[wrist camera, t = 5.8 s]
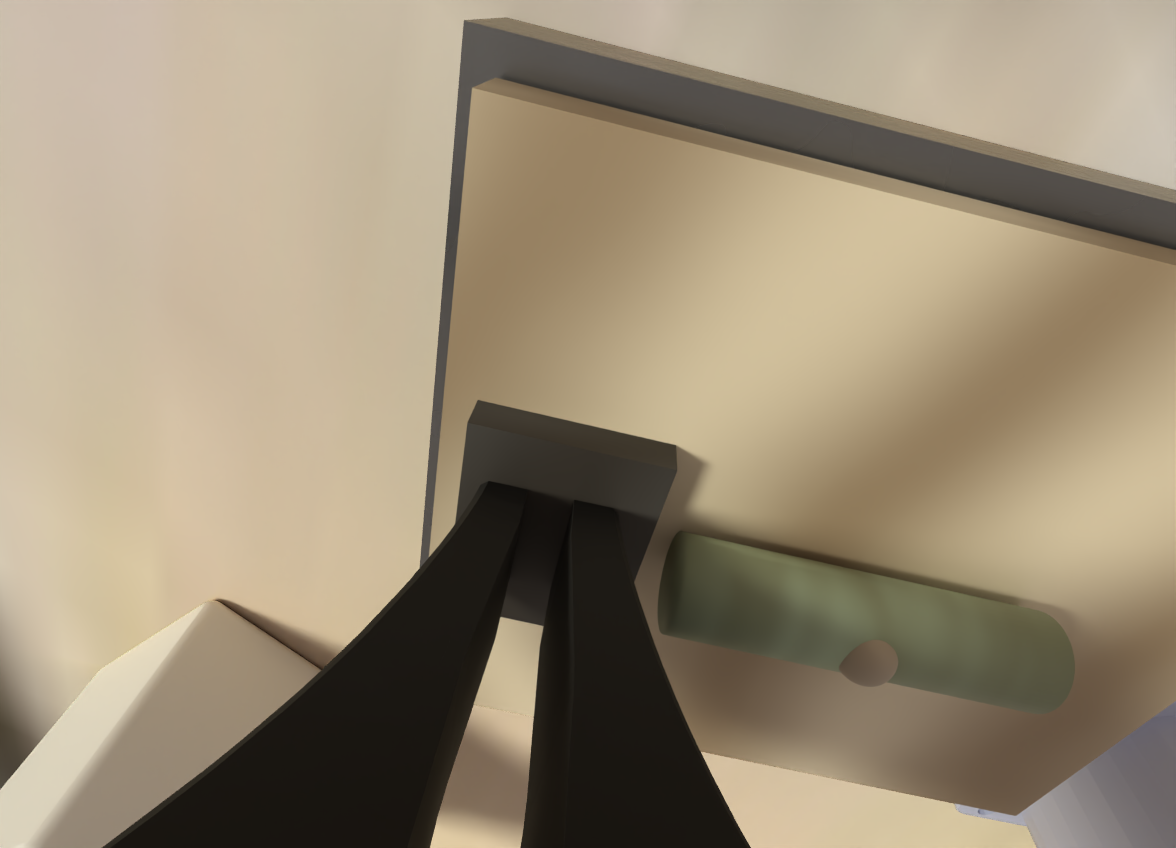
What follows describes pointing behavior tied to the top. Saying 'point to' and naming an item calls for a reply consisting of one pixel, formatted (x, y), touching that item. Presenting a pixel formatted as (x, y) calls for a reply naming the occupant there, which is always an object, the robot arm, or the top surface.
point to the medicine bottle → (148, 729)
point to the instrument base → (776, 147)
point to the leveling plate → (822, 445)
